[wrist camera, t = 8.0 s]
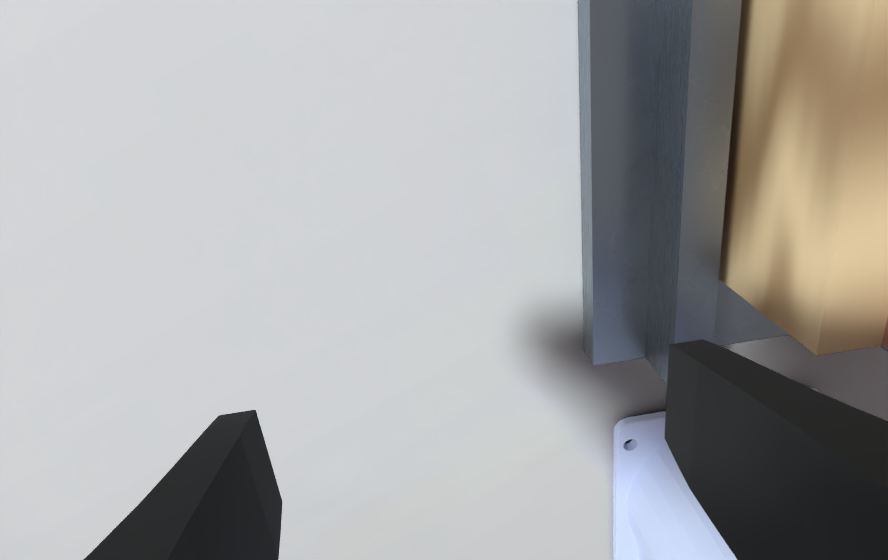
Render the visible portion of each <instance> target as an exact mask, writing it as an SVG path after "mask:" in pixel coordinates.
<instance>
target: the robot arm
mask: <svg viewBox="0 0 888 560" xmlns="http://www.w3.org/2000/svg"><path fill="white" fill-rule="evenodd" d="M630 439H632V441H631V442H630V443H627V444H624V443H625V442H626V441H627V440H630ZM281 514H282V499H281V496H280V492H279V489H278V486H277V482H276V479H275V475H274V472H273V468H272V465H271V461H270V458H269V455H268V451H267V448H266V444H265V441H264V437H263V434H262V431H261V427H260V424H259V420H258V417H257V413H256V410H251V411H245V412H238V413H232V414H226V415H219V416H218V417H217V418H216V419H215V420H214V421H213V422H212V424H211V425H210V426H209V427H208V428H207V429H206V430H205V431H204V432H203V433H202V435H201V436H200V437H199V438H198V439H197V440H196V441H195V443H194V444H193V445H192V446H191V447H190V448H189V449H188V451H187V452H186V453H185V454H184V455H183V456H182V457H181V458H180V460H179V461H178V462H177V463H176V464H175V465H174V466H173V467H172V469H171V470H170V471H169V472H168V473H167V474H166V475H165V476H164V477H163V478H162V480H161V481H160V482H159V483H158V484H157V485H156V486H155V487H154V488H153V490H152V491H151V492H150V493H149V494H148V495H147V496H146V497H145V498H144V499H143V500H142V502H141V503H140V504H139V505H138V506H137V507H136V508H135V509H134V510H133V511H132V512H131V513H130V514H129V515H128V516H127V517H126V518H125V519H124V520H123V521H122V522H121V523H120V524H119V525H118V526H117V527H116V528H115V529H114V530H113V531H112V532H111V533H110V534H109V535H108V536H107V537H106V538H105V539H104V540H103V541H102V542H101V543H100V544H99V545H98V546H97V547H96V548H95V549H94V550H93V551H92V552H91V553H90V554H89V555H88V556H87V557H86V558H85V559H84V560H278V556H279V543H280V531H281ZM613 560H888V421H885V420H883V419H881V418H878V417H876V416H873V415H871V414H868V413H866V412H864V411H861V410H859V409H856V408H854V407H851V406H849V405H847V404H844V403H842V402H840V401H838V400H835V399H833V398H831V397H828V396H826V395H824V394H822V393H821V392H820V391H818V390H817V389H815V388H809V387H806V386H804V385H802V384H800V383H798V382H796V381H793V380H791V379H789V378H787V377H785V376H783V375H781V374H779V373H776V372H774V371H772V370H770V369H768V368H766V367H764V366H762V365H760V364H758V363H755V362H753V361H751V360H749V359H747V358H745V357H743V356H741V355H738V354H736V353H734V352H732V351H730V350H728V349H725V348H723V347H721V346H718V345H716V344H714V343H711V342H709V341H706V340H703V339H701V340H695V341H689V342H682V343H676V344H670V345H669V355H668V376H667V396H666V411H663V412H657V413H651V414H645V415H639V416H633V417H627V418H624V419H621V420H620V421H619V422H618V423H617V424H616V425H615V428H614V490H613Z"/></svg>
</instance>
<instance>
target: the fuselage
mask: <svg viewBox="0 0 888 560" xmlns="http://www.w3.org/2000/svg"><path fill="white" fill-rule="evenodd" d="M719 280H721V281H722V282H723V283H724V284H726V285H727V286H728V287H730V288H731V289H732V290H733V291H735V292H736V293H737V294H738V295H740V296H741V297H742V298H743V299H745V300H746V301H747V302H749V303H750V304H751V305H752V306H754V307H755V308H756V309H757V310H759V311H760V312H761V313H763V314H764V315H765V316H766V317H768V318H769V319H770V320H771V321H773V322H774V323H775V324H777V325H778V326H779V327H780V328H782V329H783V330H784V331H785V332H787V333H788V334H789V335H791V336H792V337H793V338H794V339H796V340H797V341H798V342H799V343H801V344H802V345H803V346H805V347H806V348H807V349H808V350H810V351H811V352H812V353H813V354H815V355H816V356H818V355H825V354H831V353H837V352H843V351H850V350H856V349H862V348H868V347H875V346H881V345H882V346H883V347H885V348H886V349H888V0H742V4H741V16H740V28H739V40H738V52H737V64H736V76H735V88H734V100H733V112H732V124H731V136H730V148H729V160H728V171H727V183H726V195H725V207H724V219H723V231H722V243H721V255H720V267H719Z"/></svg>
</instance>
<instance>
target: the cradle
mask: <svg viewBox="0 0 888 560" xmlns="http://www.w3.org/2000/svg"><path fill="white" fill-rule="evenodd" d="M741 4H742V0H578V37H579V94H580V151H581V207H582V264H583V321H584V351H585V353H586V354H587V356H588V358H589V359H590V361H591V362H592V364H593V366H595V365H601V364H607V363H614V362H620V361H626V360H633V359H639V358H645V357H646V359H647V360H648V361H649V363H650V364H651V365H652V366H653V368H654V369H655V370H656V371H657V373H658V374H659V375H660V377H661V378H662V379H663V380H664V382H665V383H666V384H667V376H668V355H669V345H670V344H676V343H682V342H689V341H695V340H701V339H703V340H706V341H709V342H711V343H714V344H716V345H718V346H721V345H727V344H734V343H740V342H746V341H752V340H759V339H765V338H771V337H778V336H784V335H789V334H788V333H787V332H785V331H784V330H783V329H782V328H780V327H779V326H778V325H777V324H775V323H774V322H773V321H771V320H770V319H769V318H768V317H766V316H765V315H764V314H763V313H761V312H760V311H759V310H757V309H756V308H755V307H754V306H752V305H751V304H750V303H749V302H747V301H746V300H745V299H743V298H742V297H741V296H740V295H738V294H737V293H736V292H735V291H733V290H732V289H731V288H730V287H728V286H727V285H726V284H724V283H723V282H722V281H721V280H719V267H720V255H721V243H722V231H723V219H724V207H725V195H726V183H727V171H728V160H729V148H730V136H731V124H732V112H733V100H734V88H735V76H736V64H737V52H738V40H739V28H740V16H741ZM880 347H882V348H883V349H885V350H886V351H888V349H886V348H885V347H883V346H882V345H881V346H880Z"/></svg>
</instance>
